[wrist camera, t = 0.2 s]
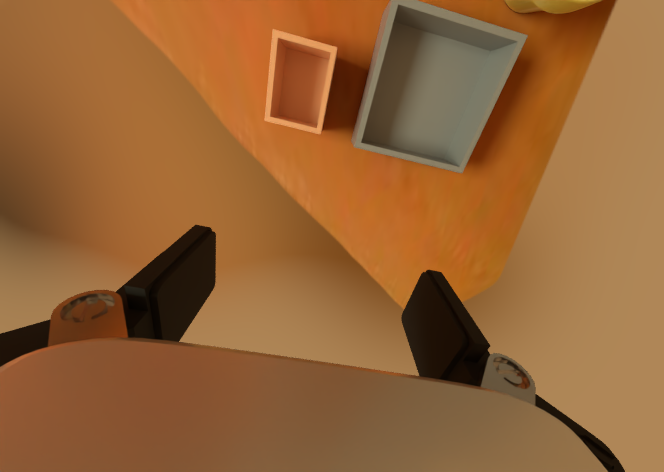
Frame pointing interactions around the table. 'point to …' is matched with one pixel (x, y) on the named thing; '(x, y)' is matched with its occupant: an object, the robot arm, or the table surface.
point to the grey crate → (432, 84)
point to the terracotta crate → (299, 81)
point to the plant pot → (549, 5)
